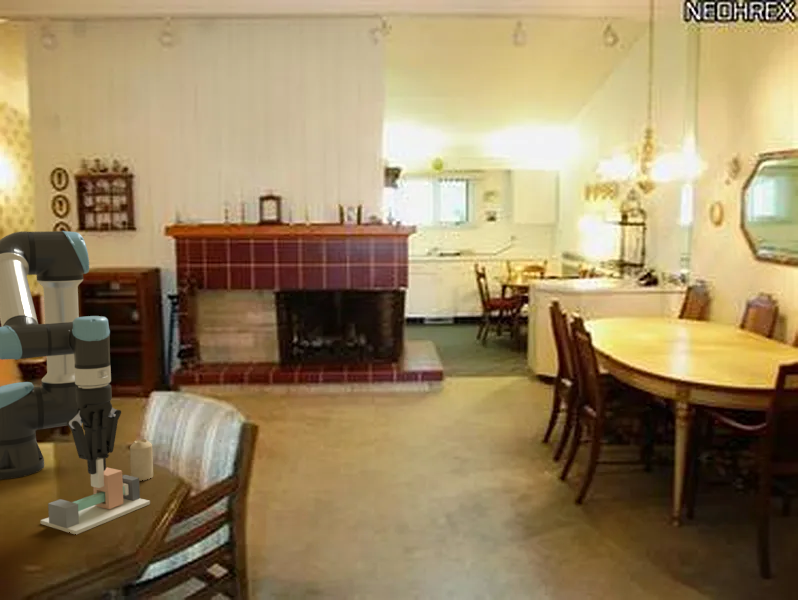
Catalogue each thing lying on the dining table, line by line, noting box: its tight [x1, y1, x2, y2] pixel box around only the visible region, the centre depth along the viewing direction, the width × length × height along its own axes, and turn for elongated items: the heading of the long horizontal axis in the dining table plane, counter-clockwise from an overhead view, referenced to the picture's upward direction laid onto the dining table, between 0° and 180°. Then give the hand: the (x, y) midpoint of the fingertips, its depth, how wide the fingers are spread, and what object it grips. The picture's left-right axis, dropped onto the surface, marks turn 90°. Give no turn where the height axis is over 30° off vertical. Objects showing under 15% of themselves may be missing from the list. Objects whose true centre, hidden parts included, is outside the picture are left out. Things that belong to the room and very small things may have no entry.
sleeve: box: [92, 466, 123, 509], centre depth 168 cm, size 5×4×8 cm
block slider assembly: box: [40, 474, 151, 535], centre depth 165 cm, size 12×20×6 cm, turn 150°
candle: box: [129, 438, 154, 482], centre depth 190 cm, size 6×6×10 cm
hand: (97, 486), depth 165 cm, fingers closed
